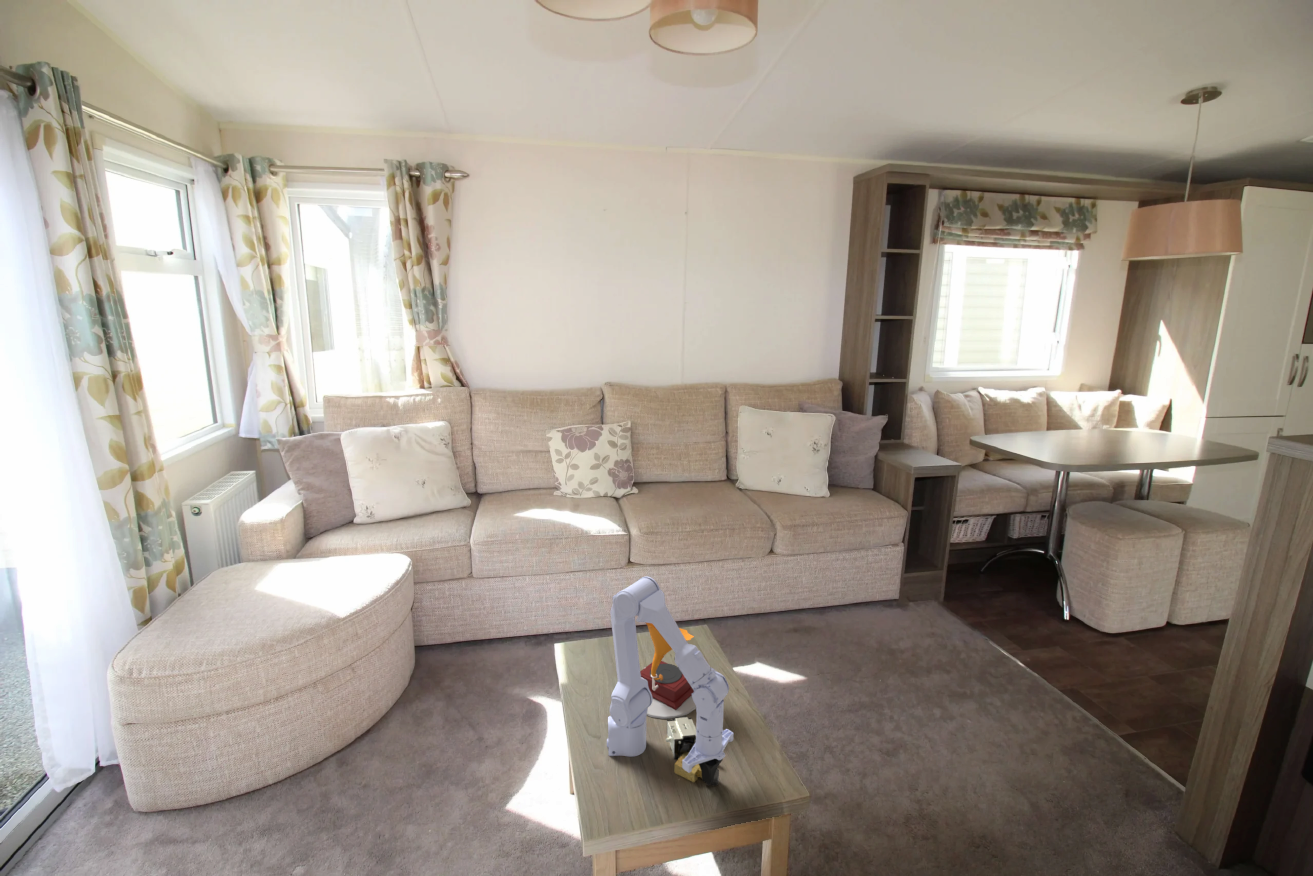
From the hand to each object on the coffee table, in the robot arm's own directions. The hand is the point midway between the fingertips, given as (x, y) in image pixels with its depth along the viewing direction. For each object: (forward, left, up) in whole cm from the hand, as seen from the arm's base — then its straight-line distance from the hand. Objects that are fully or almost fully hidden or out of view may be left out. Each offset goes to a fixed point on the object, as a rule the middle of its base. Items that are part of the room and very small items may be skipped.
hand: (707, 782), depth 133 cm
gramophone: (-6, +33, -2) cm, 33 cm away
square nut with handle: (-1, +3, -1) cm, 4 cm away
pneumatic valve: (+4, +14, +1) cm, 15 cm away
